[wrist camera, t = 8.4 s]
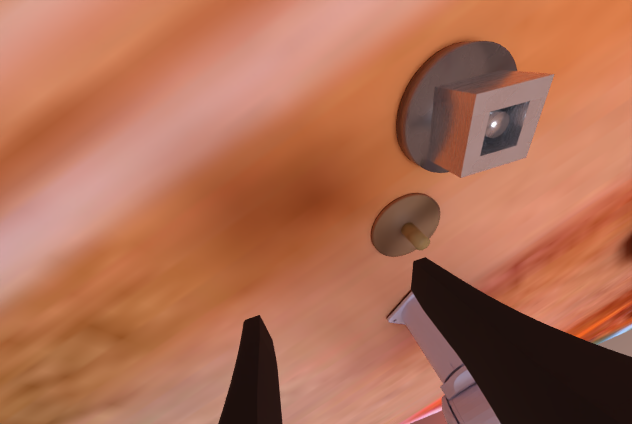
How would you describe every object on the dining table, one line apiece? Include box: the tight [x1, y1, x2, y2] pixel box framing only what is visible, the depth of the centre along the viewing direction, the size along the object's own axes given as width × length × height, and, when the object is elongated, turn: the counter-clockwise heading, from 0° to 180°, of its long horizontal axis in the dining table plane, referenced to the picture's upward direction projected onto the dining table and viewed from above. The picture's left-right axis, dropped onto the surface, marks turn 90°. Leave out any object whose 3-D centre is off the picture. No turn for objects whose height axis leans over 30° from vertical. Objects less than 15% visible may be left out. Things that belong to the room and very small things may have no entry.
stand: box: [371, 193, 440, 257], centre depth 24 cm, size 7×7×3 cm
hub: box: [397, 41, 517, 173], centre depth 18 cm, size 9×9×4 cm
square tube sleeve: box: [428, 70, 554, 178], centre depth 17 cm, size 5×5×4 cm
